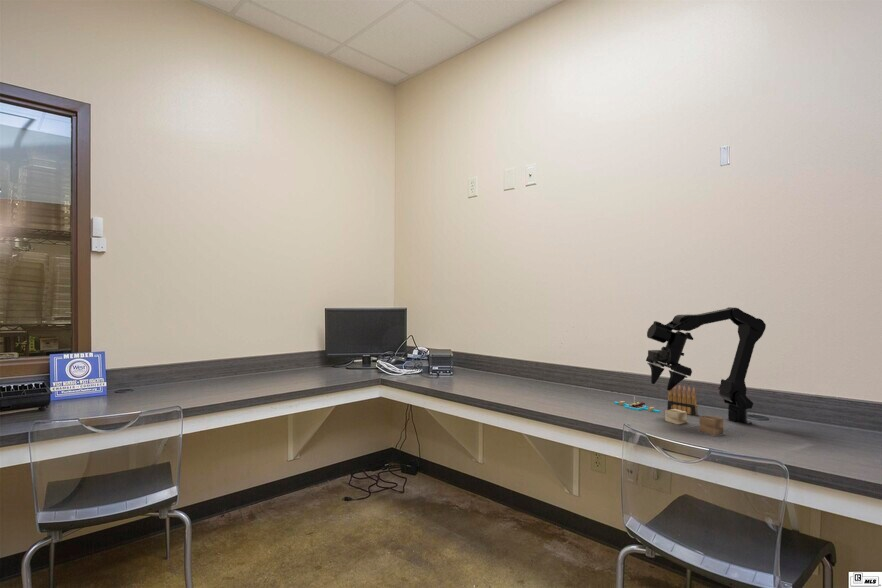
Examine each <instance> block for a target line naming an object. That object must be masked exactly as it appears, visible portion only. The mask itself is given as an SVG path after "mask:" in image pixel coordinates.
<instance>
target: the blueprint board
mask: <svg viewBox="0 0 882 588" xmlns="http://www.w3.org/2000/svg"><path fill="white" fill-rule="evenodd" d="M698 426H699V427H700V424H695V425H693V426H688V427H682V428H679V429H676V431H679V432H682V433H686V434H690V435H693V436H696V437H700V438H704V439H707V440H710V441H713V442H717V443H722V442H723V443H724V442H727V441H732V440H736V439H740V438H744V437H748V435H747V434H743V433H741V432H736V431H733V430H729V429H725V428H723V431H729V432H733V433H736V434H739V435H741V436H738V437H737V436H736V437H734V438H729V439H726V440H721V441H717V440H714V439H711V438H707V437H704V436H700V435H697V434H694V433H691V432H687V431H684V430H685V429H689V428H694V427H698ZM696 432H698V433H701V434H704V435H707V436H711V437H719V436H724V435H727V433H726V432H723V434H719V435H710V434H707V433H703V432H700V429H699V430H696Z"/></svg>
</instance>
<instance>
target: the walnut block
mask: <svg viewBox="0 0 882 588" xmlns="http://www.w3.org/2000/svg"><path fill="white" fill-rule="evenodd" d="M698 419H699V420H698V421H699V430H700V432H703V433H702V434H704V433H707V434H710V435H709V436H711V435H719V434H723V433H724V418H723V417H719V416H714V415H710V414H708V415H703V416H702V415H701V416H699V418H698ZM700 432H699V433H700ZM707 434H706V435H707Z"/></svg>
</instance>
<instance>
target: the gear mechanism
mask: <svg viewBox="0 0 882 588" xmlns="http://www.w3.org/2000/svg"><path fill="white" fill-rule="evenodd" d="M614 404H616V405H619V406H624V408H625V409H629V410H634V411H642V410H643V411H648V412H650V413H651V412H654V413H658V414H659V413H660V414H661V410H658V409H656V408H655V407H654V406H650V407H649V405H648V406H647V405H646V402H643V401H641V402H636V396H633V403H629V404H628V403H626V401H624V400H621V401H614Z"/></svg>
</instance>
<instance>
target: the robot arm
mask: <svg viewBox="0 0 882 588" xmlns="http://www.w3.org/2000/svg"><path fill="white" fill-rule="evenodd" d="M726 320H730V321H731V322H732V323H733V324H734V325H736V326H737V334H738V338H739V341H738V344H737V347H736V351H735V355H734V358H733V362H732V366H731V369H730V373H729V375H728V377H727V378H726V379H724V378H721V380H720V384H719V387H718V389H717V390H719V391H718V392H719V395H720V397H721V398H722V400H723V402H724V404H726V405H728V406H727V407H728V408H727V409H728V410H727V418H726V420H728V422H729V421H730V422H734V423H740V424H744V425H751V424H753V422H752V421H750V420H748V409H749V410H750V409H753V406H754V402H753V401H752V400H751V399H750V398H748V396H747V385H746V382H745V381H746V377H747V373H748V370H749V366H750V362H751V359H752V355H753V352H754V348H755V345H756V343H757V342H758V341H759V340H760V339H761V338H762V336H763V335H764V333H765V331H766V327H767V324H766V323H765V321H764V320H762V319H761V318H756V316H754V315H751V314H749V313H747V312H745V311H743V310H742V309H740V308H738V307H726V308H722V309H717V310H714V311H713V310H712V311H708V312H703V313H698V314H695V313H694V314H676V315H675V316H673V318H672V320H671V321H669V322H668V323H666V324H664V323H662V322H660V321H657V320H655V321H653V323H652V324H650V326H649V328H647V331H646V337H647V338H648V339H650V340H653V341H657V342H659V343H661V344H665V343H666V345H665V346H662V347H661V349H650V350H649V349H648V350H647V356H646V359H645V361H646V362H647V365H649V367H650V371H651V372H650V373H651V374H650V378H651V380H650V381H651V384H652V385H655V384H656V383H657V381H658V380H659V378H660V376H661V375H662V373H663V372H664V371H665V368H668V369H670V370H668V372H669V380H668V383H667V386H666V387H667V388H666V390H667V391H668V392H669V391H670V390H671V389H672V390H673V388H674V387H675V386H676V387H677V385H678V384H679V383H680V382H682V381H683V380H685V379H688V377H691V376H692V373H693V370H692V368H691V367H688V366H686V365H683V364H681V363H680V359H681V356H682V357H684V355H685V353H684V352H683V351H684V347H685V345H686V342H687V340H689V341H690V340H691V341H693V340H694V337H693V336H692V334H691V331H693V330H695V329H698V328H700V327H701V326H703V325H707V324H713V323H717V322H723V321H726ZM674 331H675V332H674ZM682 331H684V332H682Z"/></svg>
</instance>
